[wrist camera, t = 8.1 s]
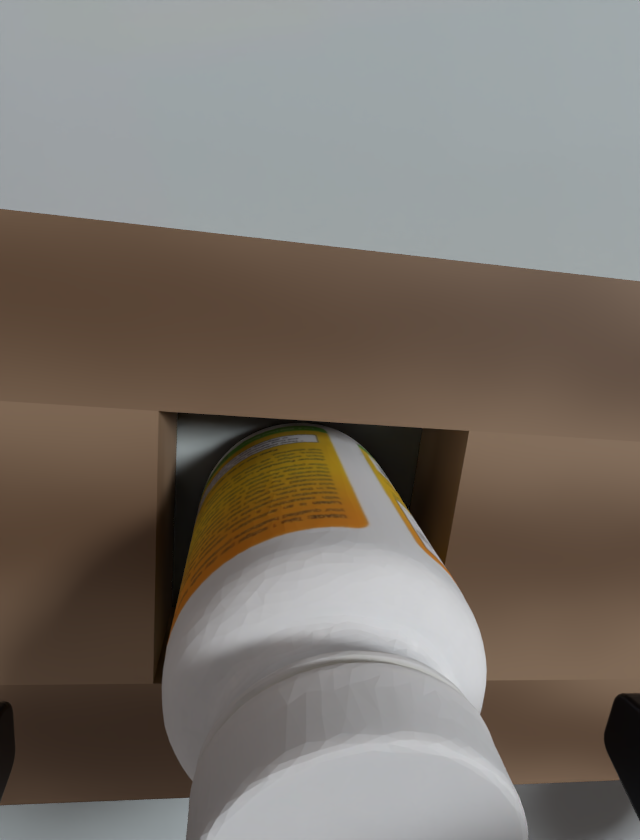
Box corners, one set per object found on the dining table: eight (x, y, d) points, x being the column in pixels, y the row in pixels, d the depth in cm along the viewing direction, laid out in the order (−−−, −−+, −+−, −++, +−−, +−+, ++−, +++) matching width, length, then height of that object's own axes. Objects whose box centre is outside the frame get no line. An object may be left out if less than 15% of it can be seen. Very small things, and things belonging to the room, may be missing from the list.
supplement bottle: (170, 552, 15) (32, 1008, 6) (250, 386, 14) (241, 611, 5) (335, 613, 16) (443, 1070, 7) (419, 464, 15) (680, 767, 6)
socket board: (561, 700, 18) (619, 780, 15) (-62, 710, 15) (-134, 810, 13) (671, 291, 15) (772, 296, 12) (-117, 204, 12) (-237, 182, 9)
